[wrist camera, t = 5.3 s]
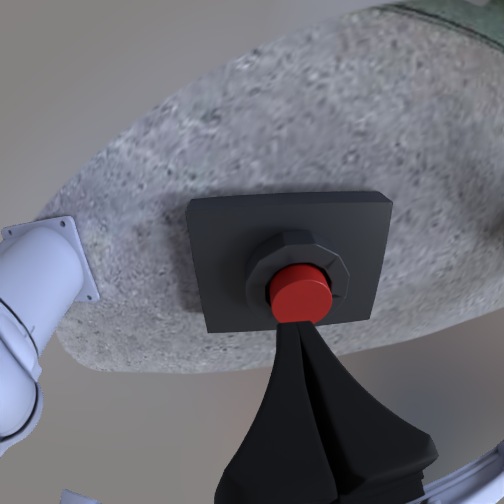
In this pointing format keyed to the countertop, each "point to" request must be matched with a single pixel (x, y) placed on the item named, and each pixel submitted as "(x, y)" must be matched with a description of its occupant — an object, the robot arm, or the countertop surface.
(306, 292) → the power button
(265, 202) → the control box
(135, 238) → the countertop surface
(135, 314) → the countertop surface
